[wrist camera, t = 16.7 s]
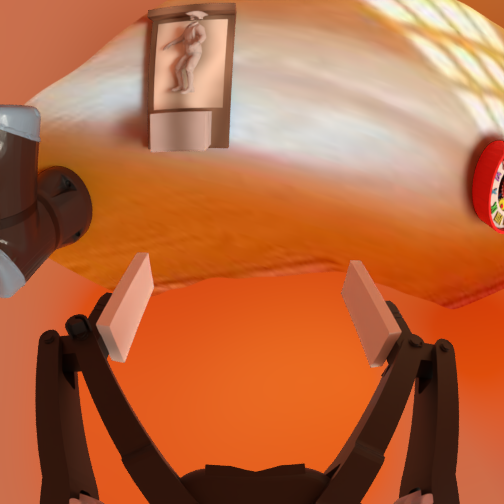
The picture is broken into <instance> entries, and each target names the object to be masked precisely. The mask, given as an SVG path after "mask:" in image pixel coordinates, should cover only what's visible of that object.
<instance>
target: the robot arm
mask: <svg viewBox="0 0 504 504" xmlns="http://www.w3.org/2000/svg"><path fill="white" fill-rule="evenodd" d="M40 121H41V116H40V112H39V111H38V109H37V108H35V107H32V106H25V105H0V297H1V298H9V297H11V296H13V295H14V294H15V293H16V292H17V291H18V290H19V289H20V288H21V287H23V286H24V285H25V283H26V282H27V281H28V280H29V278H30V277H31V276H32V275H33V274H34V273H35V271H36V270H37V269H38V268H39V267H40V266H41V264H42V263H43V262H44V261H45V260H46V259H47V258H48V257H49V256H50V255H51V254H52V253H53V252H54V251H55V250H56V249H59V248H62V247H65V246H67V245H70V244H73V243H75V242H76V241H78V240H79V239H80V238H81V237H82V236H83V235H84V234H85V233H86V231H87V230H88V228H89V226H90V223H91V219H92V203H91V198H90V195H89V192H88V190H87V188H86V186H85V184H84V183H83V181H82V180H81V179H80V177H79V176H78V175H77V174H76V173H74V172H73V171H72V170H70V169H68V168H65V167H61V166H56V167H51V168H49V169H47V170H45V171H43V172H41V173H40V174H39V175H38V176H37V174H38V153H39V142H40V141H41V139H40V137H39V135H40ZM153 289H154V285H153V279H152V273H151V268H150V262H149V255H148V253H137V254H136V256H135V257H134V259H133V260H132V262H131V264H130V265H129V267H128V269H127V270H126V272H125V273H124V275H123V277H122V278H121V280H120V282H119V284H118V285H117V287H116V289H115V290H114V292H113V293H106V294H104V295H103V296H102V297H100V299H99V300H98V302H97V304H96V305H95V307H94V310H93V311H92V313H91V314H90V316H89V318H87V317H86V316H84V315H81V314H78V315H74V316H72V317H70V318H69V319H68V320H67V322H66V324H65V328H66V330H67V332H68V334H69V336H59V334H58V333H57V331H55V330H48V331H46V332H44V333H43V334H42V335H41V336H40V339H39V345H38V355H37V368H36V428H37V440H38V451H39V458H40V465H41V472H42V477H43V478H42V486H41V496H40V504H104V503H103V502H101V501H99V495H98V489H97V485H96V481H95V477H94V473H93V470H92V466H91V461H90V458H89V453H88V448H87V444H86V438H85V433H84V427H83V420H82V414H81V406H80V397H79V387H78V374H77V372H78V371H82V373H83V376H84V379H85V381H86V384H87V386H88V389H89V391H90V394H91V396H92V399H93V401H94V403H95V405H96V408H97V410H98V412H99V414H100V416H101V419H102V421H103V423H104V425H105V426H106V429H107V430H108V433H109V435H110V437H111V438H112V440H113V442H114V444H115V446H116V448H117V449H118V451H119V453H120V455H121V457H122V462H123V464H124V466H125V468H126V469H127V471H128V473H129V474H130V476H131V477H132V479H133V480H134V482H135V483H136V485H137V486H138V488H139V489H140V491H141V492H142V494H143V495H144V496H145V498H146V499H147V501H148V502H149V503H150V504H361V503H360V502H361V500H362V499H363V497H364V496H365V494H366V492H367V491H368V489H369V487H370V486H371V484H372V482H373V481H374V479H375V477H376V475H377V473H378V472H379V470H380V468H381V466H382V464H383V462H384V459H385V457H384V453H385V450H386V448H387V446H388V444H389V442H390V440H391V438H392V436H393V434H394V432H395V429H396V427H397V425H398V422H399V420H400V418H401V415H402V413H403V410H404V408H405V405H406V403H407V400H408V397H409V395H410V392H411V389H412V386H413V383H414V380H415V395H414V406H413V416H412V425H411V433H410V439H409V445H408V452H407V457H406V462H405V467H404V471H403V476H402V480H401V486H400V494H399V499H398V500H397V501H396V502H395V503H394V504H460V502H459V494H458V487H457V481H456V475H455V473H456V464H457V453H458V436H459V401H458V383H457V370H456V361H455V353H454V348H453V345H452V344H451V343H450V342H449V341H448V340H445V339H439V340H437V342H436V343H435V345H432V344H427V343H424V341H423V340H422V339H421V338H420V337H419V336H417V335H415V334H412V333H411V332H410V330H409V328H408V326H407V324H406V322H405V321H404V319H403V318H402V315H401V314H400V313H399V310H398V309H397V307H396V306H395V305H394V304H393V303H392V302H391V301H385V300H384V299H383V297H382V295H381V294H380V292H379V290H378V288H377V287H376V285H375V283H374V282H373V280H372V278H371V277H370V275H369V273H368V272H367V270H366V269H365V267H364V265H363V264H362V262H361V261H352V260H350V264H349V268H348V271H347V275H346V279H345V282H344V285H343V289H342V292H341V294H342V297H343V299H344V301H345V304H346V306H347V308H348V311H349V313H350V316H351V318H352V321H353V323H354V325H355V328H356V331H357V333H358V336H359V338H360V341H361V343H362V346H363V349H364V351H365V354H366V357H367V359H368V362H369V365H370V367H377V366H382V365H383V363H384V362H385V360H386V359H387V362H388V364H389V365H388V366H387V368H386V369H385V371H384V372H383V374H382V375H381V376H382V378H381V380H380V383H379V385H378V387H377V389H376V391H375V393H374V395H373V397H372V399H371V401H370V402H369V404H368V406H367V408H366V410H365V412H364V413H363V415H362V417H361V419H360V421H359V422H358V424H357V426H356V427H355V429H354V431H353V433H352V434H351V436H350V437H349V439H348V441H347V442H346V444H345V445H344V447H343V448H342V450H341V451H340V453H339V454H338V456H337V457H336V459H335V460H334V462H333V463H332V464H331V465H330V466H329V467H328V469H327V470H326V471H325V472H324V474H323V473H321V472H319V471H316V470H313V469H309V468H305V464H295V465H281V466H277V467H274V468H270V469H266V470H262V471H258V472H254V471H249V470H244V469H240V468H236V467H232V466H220V465H206V466H205V469H200V470H195V471H193V472H190V473H188V474H186V475H184V476H183V477H181V478H180V477H179V476H178V475H177V473H176V472H175V471H174V470H173V469H172V467H171V466H170V465H169V463H168V462H167V461H166V460H165V458H164V457H163V455H162V454H161V453H160V451H159V450H158V448H157V447H156V445H155V444H154V442H153V441H152V440H151V438H150V436H149V435H148V433H147V432H146V430H145V429H144V427H143V426H142V424H141V423H140V421H139V420H138V417H137V416H136V414H135V413H134V411H133V409H132V407H131V406H130V404H129V402H128V400H127V399H126V397H125V395H124V393H123V391H122V389H121V387H120V386H119V384H118V382H117V380H116V378H115V376H114V374H113V372H112V370H111V368H110V365H109V363H108V361H107V357H108V355H110V357H111V359H112V360H114V361H119V362H125V360H126V357H127V354H128V351H129V349H130V346H131V344H132V341H133V338H134V336H135V333H136V330H137V328H138V325H139V323H140V320H141V317H142V315H143V313H144V310H145V308H146V305H147V303H148V300H149V298H150V296H151V293H152V291H153Z"/></svg>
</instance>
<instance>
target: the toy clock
mask: <svg viewBox="0 0 504 504" xmlns="http://www.w3.org/2000/svg"><path fill="white" fill-rule="evenodd" d="M472 199H473V205H474V209H475V212H476V214H477V215H478V217H479V218H480V219H481V220H482V221H483V222H485V223H486V224H487V225H489V226H490V227H491V228H493V229H494V230H495V231H497V232H498V233H501V234H504V141H501V140H497V141H494V142H492V143H490V144H489V145H488V146H487V147H486V148H485V149H484V151H483V153H482V154H481V156H480V158H479V160H478V163H477V166H476V169H475V173H474V177H473V185H472Z"/></svg>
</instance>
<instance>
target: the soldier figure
mask: <svg viewBox="0 0 504 504" xmlns="http://www.w3.org/2000/svg"><path fill="white" fill-rule="evenodd" d="M185 14H187V15H189V16H190V17H191V20H194V19H197V20H202V21H203V17H204V16H207V15H208V14H206V13H204V12H201V11H192V12H188V13H185ZM195 21H196V20H195ZM205 39H206V33H205V28H204V27H203V26H202V25H201V24H199V23H198V21H197V22H192V23H190V24H189V25H188V26H187V27H186V28H185V30H184V32H183V34H182V35H181V36H180V37H178V38H177V39H175V40H174V41H172V42H171V43H169V44H168V45H166V46H165V47H164V48H163V51H164V50H166V48H167V47H168V48H169V47H170V46H171V45H175V44H177V43H179V42H181V41H183V45H184V52H185V53H186V54H185V55H184V56H183V57H182V58H181V59H180V60H179V61H178V63H177V64H176V66H175V73H176V76H177V79H178V84H179V86H177V87H176V88H172V89H171V91H174V92H176V91H178V90H184V91H181V92H180V93H181V94H187V93H189V92H195V91H194V87H193V78H194V74H193V71H194V69H195V67H196V65H197V64H198V62H199V60H200V57H201V54H202V47H201V44H202V42H204V40H205ZM168 48H167V49H168ZM184 68H186V69H185V71H186V75H187V80H188V87H187V88H186V90H185V85H184V76H183V72H182V70H183V69H184Z"/></svg>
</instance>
